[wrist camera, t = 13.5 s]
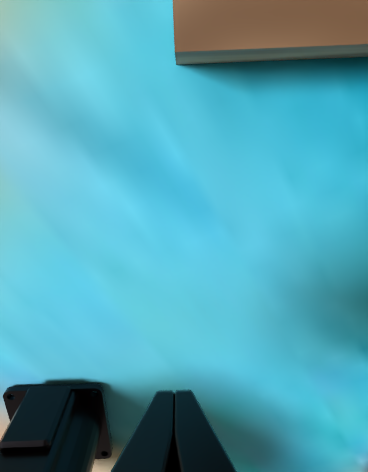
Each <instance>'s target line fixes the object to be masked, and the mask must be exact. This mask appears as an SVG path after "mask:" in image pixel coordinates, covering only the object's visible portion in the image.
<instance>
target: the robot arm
mask: <svg viewBox="0 0 368 472" xmlns="http://www.w3.org/2000/svg"><path fill="white" fill-rule="evenodd" d="M93 391H96V392H93ZM11 394H12V395H11ZM3 399H4V402H5V405H6V409H7V412H8V416H9V419H10V423H9V425H8V427H7V429H6V431H5V433H4V434H3V436H2V438H1V440H0V472H92V468H93V464H94V460H95V459H106V458H109V457H110V456H111V455H112V449H113V447H112V441H111V435H110V428H109V422H108V416H107V409H106V403H105V396H104V390H103V387H102V386H101V385H99V384H70V385H43V386H15V387H9V388H7V390H6V391H5V393H4V395H3ZM111 472H237V471H236V469H235V467H234V466H233V464H232V462H231V460H230V458H229V457H228V455H227V453H226V451H225V449H224V448H223V446H222V444H221V442H220V440H219V439H218V437H217V435H216V433H215V431H214V430H213V428H212V426H211V424H210V422H209V421H208V419H207V417H206V415H205V413H204V412H203V410H202V408H201V406H200V404H199V403H198V401H197V399H196V397H195V395H194V394H193V392H192V391H191V390H176V391H175V394H174V392H173V391H172V390H165V391H157V392H156V394H155V395H154V397H153V399H152V401H151V402H150V404H149V406H148V408H147V409H146V411H145V413H144V415H143V416H142V418H141V420H140V421H139V423H138V425H137V427H136V428H135V430H134V432H133V434H132V435H131V437H130V439H129V441H128V442H127V444H126V446H125V448H124V449H123V451H122V453H121V455H120V456H119V458H118V460H117V461H116V463H115V465H114V467H113V468H112V470H111Z"/></svg>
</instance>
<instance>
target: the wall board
mask: <svg viewBox="0 0 368 472" xmlns="http://www.w3.org/2000/svg"><path fill="white" fill-rule="evenodd" d="M173 18H174V42H175V57H176V65H179V64H203V63H227V62H251V61H275V60H299V59H323V58H347V57H368V0H173Z"/></svg>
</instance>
